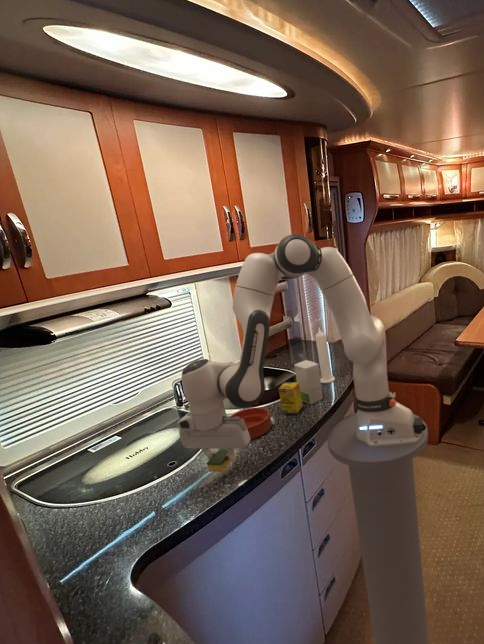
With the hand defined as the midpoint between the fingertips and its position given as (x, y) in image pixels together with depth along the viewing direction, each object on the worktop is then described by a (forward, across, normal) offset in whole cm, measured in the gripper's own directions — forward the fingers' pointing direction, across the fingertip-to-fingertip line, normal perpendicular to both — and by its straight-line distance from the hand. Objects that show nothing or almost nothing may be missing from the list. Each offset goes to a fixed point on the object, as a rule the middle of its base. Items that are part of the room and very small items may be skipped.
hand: (221, 459), depth 108 cm
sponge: (+2, 0, 0) cm, 2 cm away
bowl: (+5, +4, -24) cm, 25 cm away
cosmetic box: (+5, -11, -48) cm, 50 cm away
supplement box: (+5, -7, -38) cm, 39 cm away
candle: (+5, -12, -67) cm, 68 cm away
